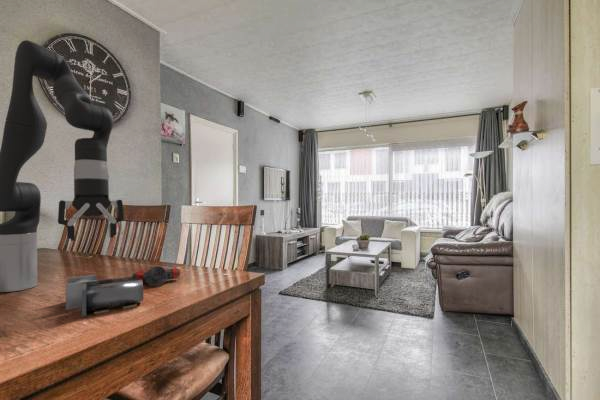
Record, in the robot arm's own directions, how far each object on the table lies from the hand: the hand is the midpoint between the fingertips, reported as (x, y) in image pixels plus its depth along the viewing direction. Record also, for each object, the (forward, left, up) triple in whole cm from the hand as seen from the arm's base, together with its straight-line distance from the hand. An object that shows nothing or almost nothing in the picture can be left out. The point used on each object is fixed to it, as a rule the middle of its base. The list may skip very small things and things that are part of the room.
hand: (92, 239), depth 79 cm
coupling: (-2, +1, -17) cm, 17 cm away
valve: (+13, +17, -18) cm, 28 cm away
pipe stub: (+5, -8, -17) cm, 19 cm away
